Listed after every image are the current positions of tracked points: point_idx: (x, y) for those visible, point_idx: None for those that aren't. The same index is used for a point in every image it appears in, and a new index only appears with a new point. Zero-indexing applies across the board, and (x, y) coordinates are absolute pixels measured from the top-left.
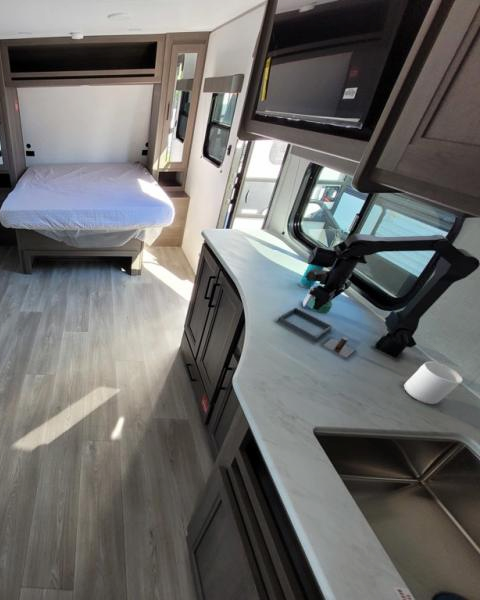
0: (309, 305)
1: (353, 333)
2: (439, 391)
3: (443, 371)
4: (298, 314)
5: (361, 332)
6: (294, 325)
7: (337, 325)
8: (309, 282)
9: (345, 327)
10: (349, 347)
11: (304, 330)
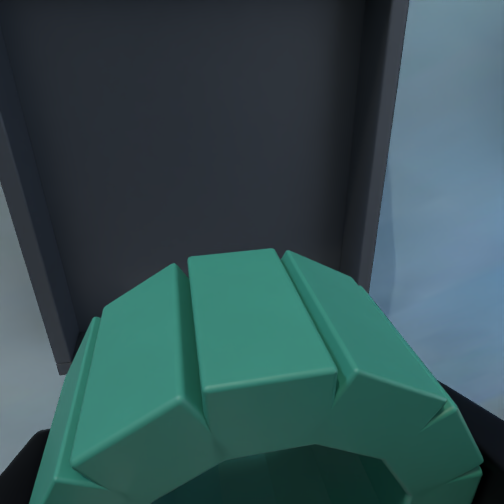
0: (102, 321)
1: (443, 369)
2: None
3: None
4: (361, 45)
5: (490, 379)
6: (6, 179)
7: (465, 290)
8: None
9: (478, 321)
10: None
11: (42, 277)
